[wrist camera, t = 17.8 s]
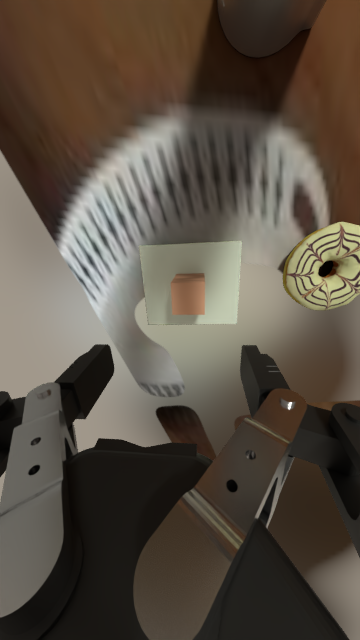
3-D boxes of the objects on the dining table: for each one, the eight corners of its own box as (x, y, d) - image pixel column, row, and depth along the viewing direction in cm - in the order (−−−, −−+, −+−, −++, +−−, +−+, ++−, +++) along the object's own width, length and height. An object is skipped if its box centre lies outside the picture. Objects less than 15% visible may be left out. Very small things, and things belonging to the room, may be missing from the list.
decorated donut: (379, 261, 27) (406, 265, 24) (311, 317, 31) (325, 327, 28) (329, 206, 25) (350, 202, 22) (263, 273, 29) (272, 278, 26)
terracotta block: (204, 273, 29) (204, 282, 23) (204, 300, 30) (204, 314, 25) (176, 273, 29) (170, 282, 24) (177, 300, 31) (172, 314, 25)
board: (240, 240, 28) (241, 240, 27) (235, 321, 32) (236, 324, 31) (140, 245, 29) (138, 246, 28) (149, 322, 34) (148, 324, 33)
